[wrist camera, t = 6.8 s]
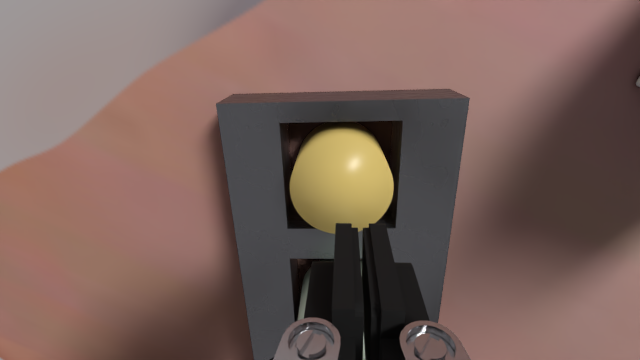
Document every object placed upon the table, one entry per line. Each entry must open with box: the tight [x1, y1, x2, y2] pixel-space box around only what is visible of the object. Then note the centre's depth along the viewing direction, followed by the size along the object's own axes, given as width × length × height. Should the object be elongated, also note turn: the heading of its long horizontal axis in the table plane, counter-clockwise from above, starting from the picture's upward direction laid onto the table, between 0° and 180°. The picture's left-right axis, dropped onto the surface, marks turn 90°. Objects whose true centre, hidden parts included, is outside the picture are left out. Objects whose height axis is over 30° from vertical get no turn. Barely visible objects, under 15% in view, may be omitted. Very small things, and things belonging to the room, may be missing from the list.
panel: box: [216, 89, 470, 360], centre depth 22 cm, size 12×24×3 cm, turn 2°
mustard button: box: [290, 122, 394, 234], centre depth 18 cm, size 5×5×4 cm
